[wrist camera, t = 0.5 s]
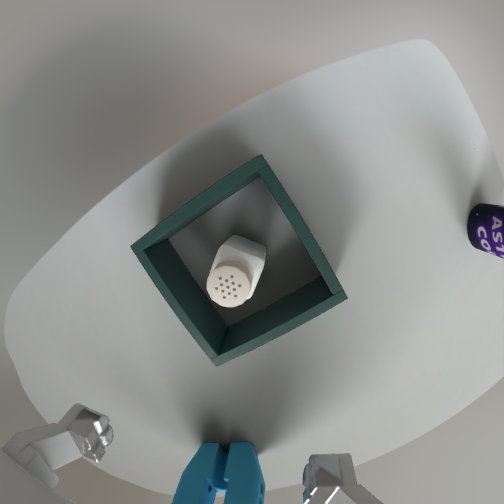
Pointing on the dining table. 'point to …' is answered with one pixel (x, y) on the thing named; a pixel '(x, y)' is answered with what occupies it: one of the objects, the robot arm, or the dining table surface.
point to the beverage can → (487, 228)
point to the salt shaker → (235, 271)
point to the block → (222, 476)
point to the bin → (194, 300)
